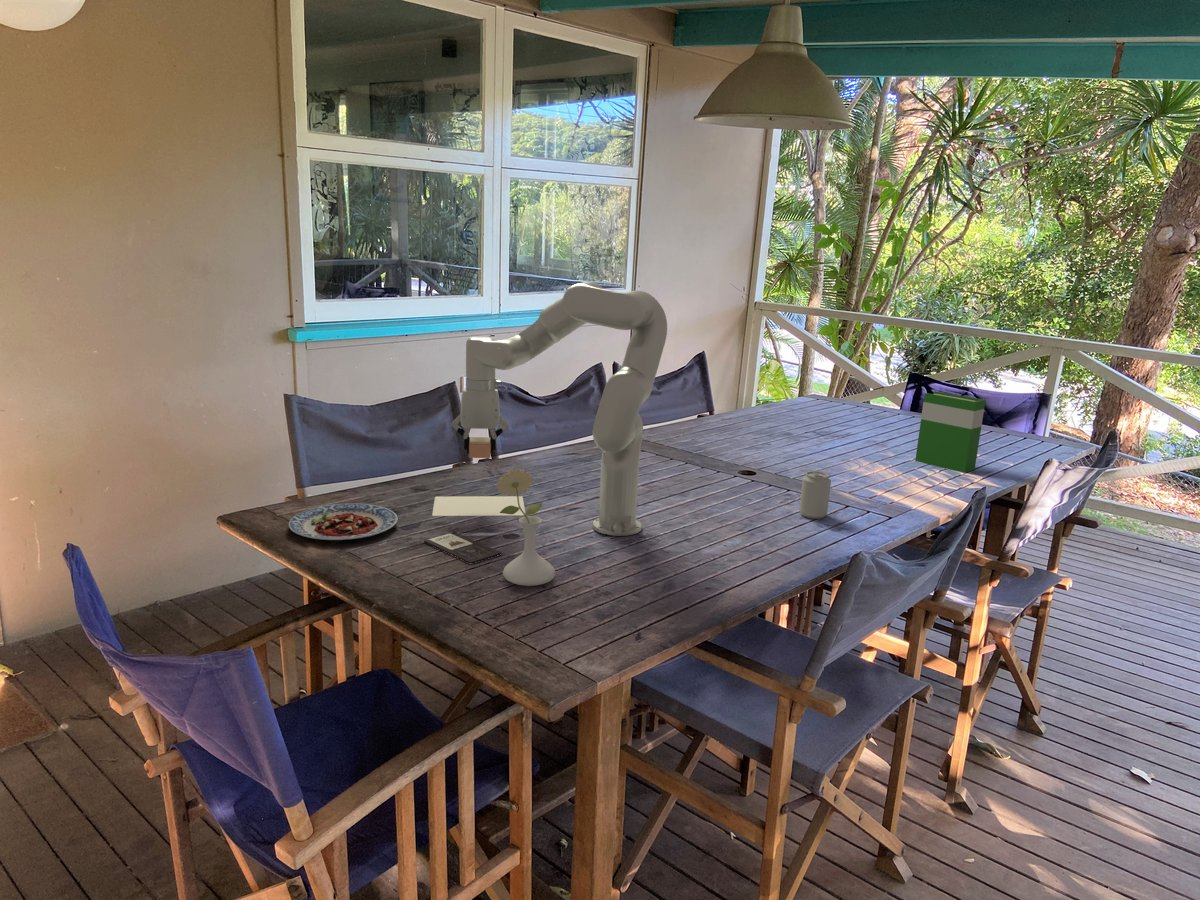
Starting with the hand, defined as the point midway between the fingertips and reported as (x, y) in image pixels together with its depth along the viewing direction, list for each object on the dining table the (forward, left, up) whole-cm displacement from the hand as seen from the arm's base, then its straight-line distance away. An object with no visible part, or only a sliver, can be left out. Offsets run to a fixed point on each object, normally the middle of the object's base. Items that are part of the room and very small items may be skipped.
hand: (479, 451), depth 226 cm
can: (-7, -91, -16) cm, 93 cm away
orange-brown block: (0, 0, 0) cm, 0 cm away
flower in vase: (-48, -10, -16) cm, 52 cm away
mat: (0, 0, -16) cm, 16 cm away
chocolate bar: (-29, +4, -16) cm, 34 cm away
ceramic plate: (-14, +33, -16) cm, 39 cm away
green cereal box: (+44, -158, -16) cm, 165 cm away
